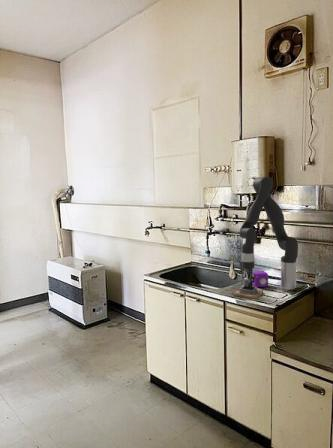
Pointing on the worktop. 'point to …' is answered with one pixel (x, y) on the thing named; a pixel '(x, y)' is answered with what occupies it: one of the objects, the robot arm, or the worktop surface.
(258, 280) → the toy camera
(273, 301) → the worktop surface
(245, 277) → the lens
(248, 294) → the lens mount
